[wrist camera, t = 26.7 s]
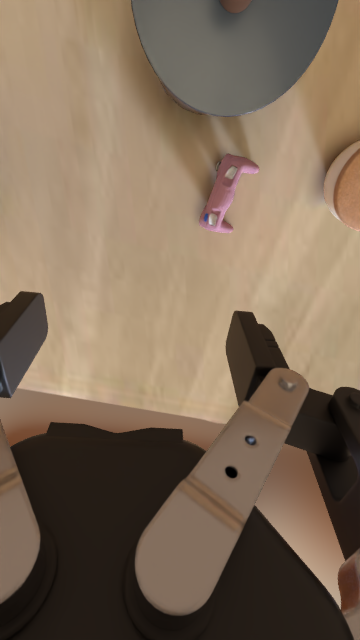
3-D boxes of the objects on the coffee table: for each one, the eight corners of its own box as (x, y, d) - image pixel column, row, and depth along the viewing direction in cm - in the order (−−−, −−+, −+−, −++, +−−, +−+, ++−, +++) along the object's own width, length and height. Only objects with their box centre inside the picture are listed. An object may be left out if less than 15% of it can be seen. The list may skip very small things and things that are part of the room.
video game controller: (232, 152, 40) (217, 146, 35) (263, 164, 40) (252, 161, 34) (206, 222, 46) (188, 227, 40) (232, 234, 45) (218, 241, 39)
